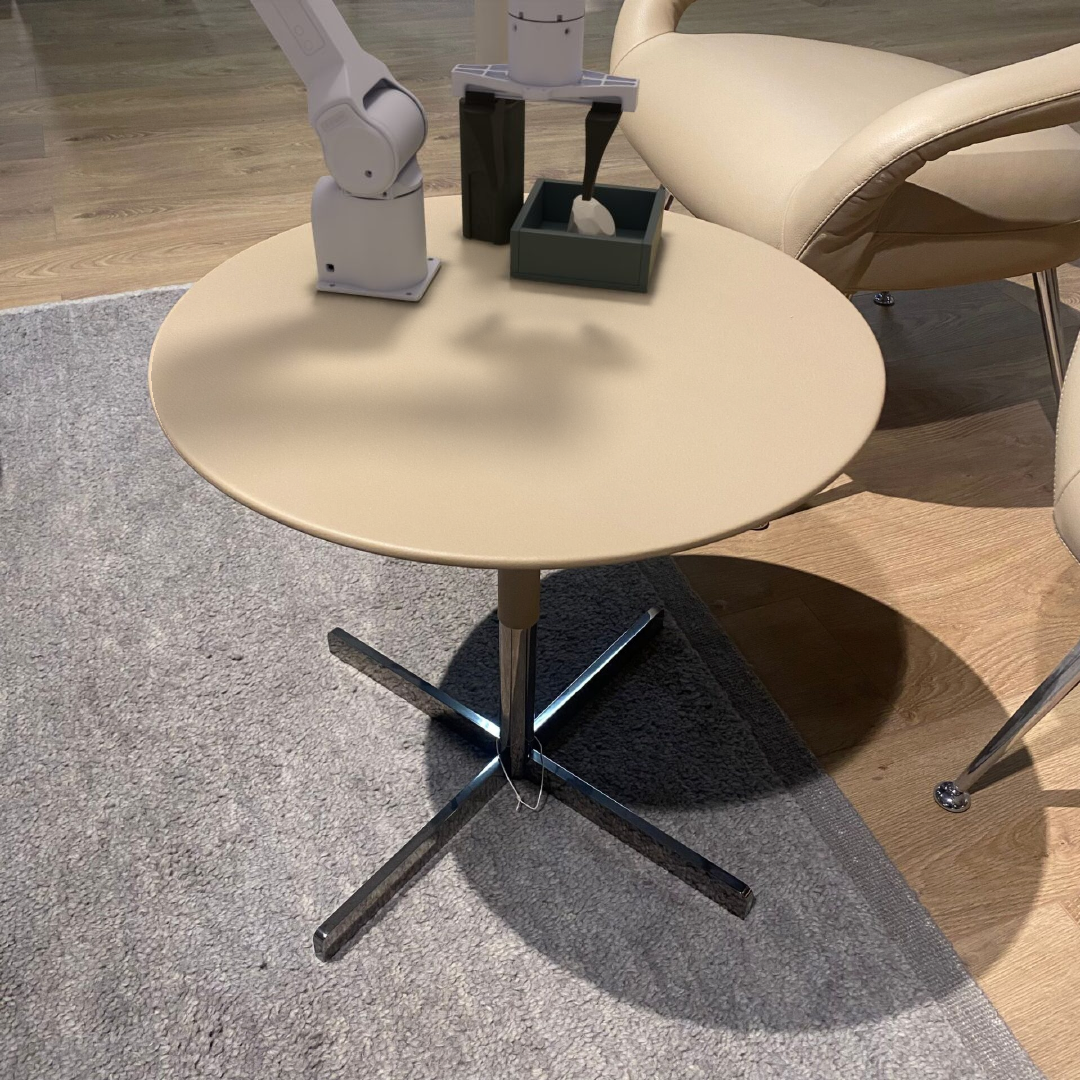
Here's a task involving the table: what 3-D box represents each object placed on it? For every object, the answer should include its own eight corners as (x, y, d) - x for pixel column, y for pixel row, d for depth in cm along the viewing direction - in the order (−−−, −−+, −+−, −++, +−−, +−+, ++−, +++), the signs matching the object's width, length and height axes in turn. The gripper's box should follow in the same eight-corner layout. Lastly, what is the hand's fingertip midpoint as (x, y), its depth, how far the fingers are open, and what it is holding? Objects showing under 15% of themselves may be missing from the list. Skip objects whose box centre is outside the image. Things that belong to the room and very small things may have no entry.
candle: (527, 227, 102) (532, -59, 85) (505, 247, 98) (505, -48, 82) (481, 217, 103) (477, -66, 87) (458, 236, 100) (449, -55, 83)
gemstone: (552, 202, 98) (592, 176, 95) (591, 250, 101) (631, 227, 98) (535, 237, 94) (575, 211, 91) (576, 286, 97) (616, 263, 94)
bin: (509, 278, 93) (510, 230, 90) (536, 222, 103) (537, 177, 100) (647, 293, 92) (651, 244, 89) (661, 235, 101) (665, 189, 98)
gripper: (437, 19, 74) (445, 202, 83) (637, 34, 72) (622, 219, 81) (461, -5, 79) (466, 170, 88) (648, 9, 77) (633, 186, 86)
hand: (542, 192), depth 85 cm, fingers open, 7 cm apart
